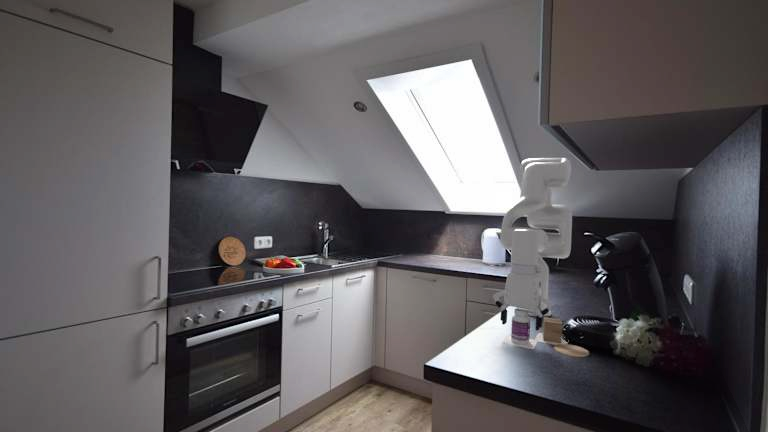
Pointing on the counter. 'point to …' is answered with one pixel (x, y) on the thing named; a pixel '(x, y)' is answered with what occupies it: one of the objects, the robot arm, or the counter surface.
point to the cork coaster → (571, 350)
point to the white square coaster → (529, 345)
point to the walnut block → (552, 330)
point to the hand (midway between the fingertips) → (520, 326)
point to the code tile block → (540, 339)
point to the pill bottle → (520, 327)
